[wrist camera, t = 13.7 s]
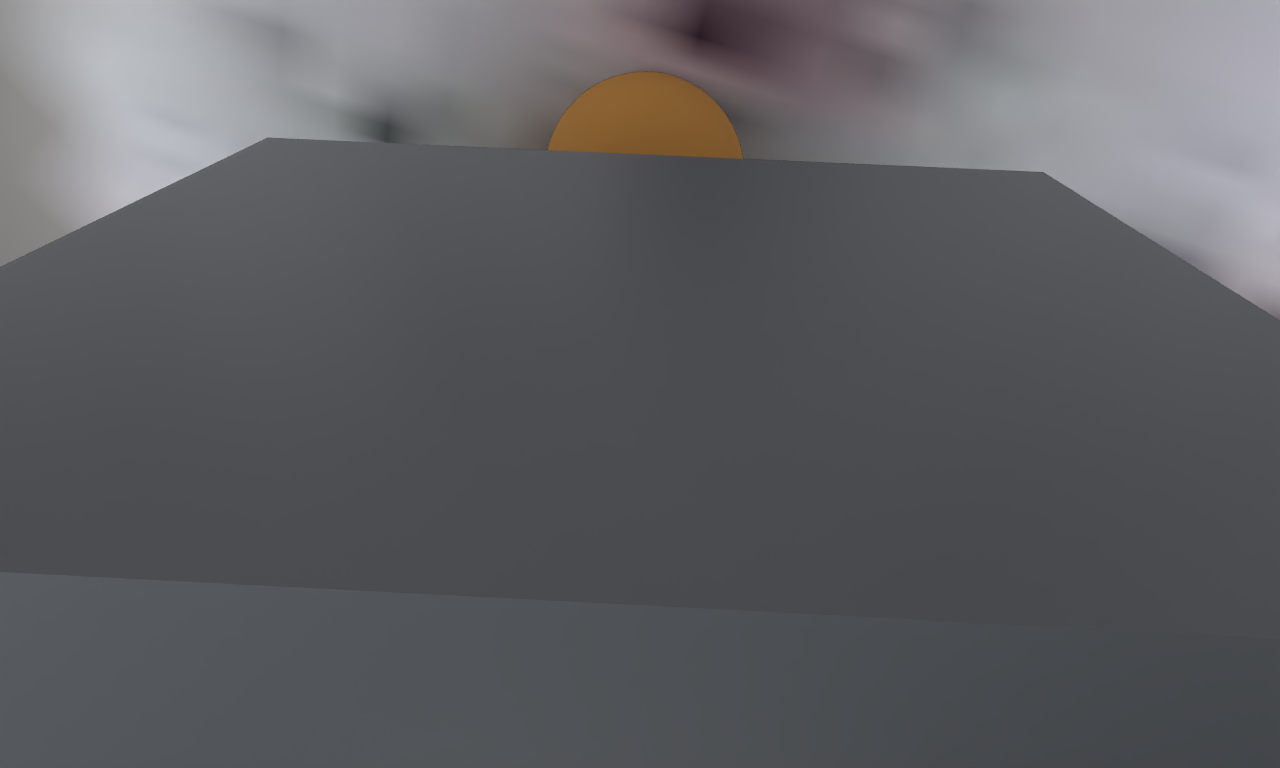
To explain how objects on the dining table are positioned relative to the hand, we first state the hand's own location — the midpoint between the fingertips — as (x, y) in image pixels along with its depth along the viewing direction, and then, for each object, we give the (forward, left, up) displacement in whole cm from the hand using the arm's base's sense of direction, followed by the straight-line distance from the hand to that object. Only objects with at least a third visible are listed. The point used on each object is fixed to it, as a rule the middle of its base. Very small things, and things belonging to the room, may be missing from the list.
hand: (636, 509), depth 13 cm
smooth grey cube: (0, 0, -1) cm, 1 cm away
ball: (-2, 0, -11) cm, 11 cm away
